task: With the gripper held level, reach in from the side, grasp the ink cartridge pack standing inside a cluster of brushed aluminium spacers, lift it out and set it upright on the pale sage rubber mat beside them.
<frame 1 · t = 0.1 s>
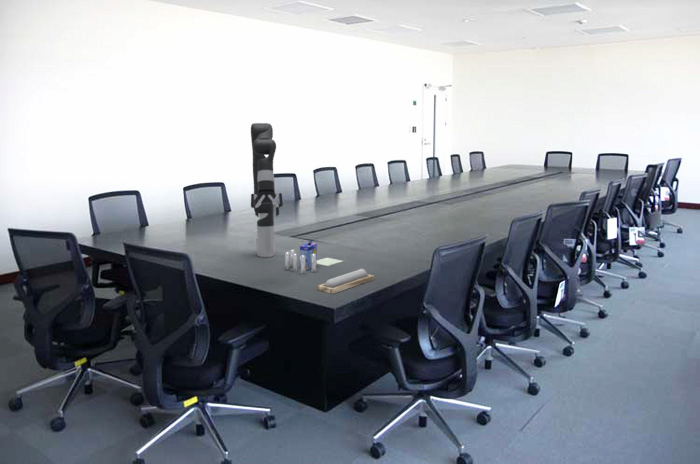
hand: (267, 216, 248), 31 cm above the table, tool tilted 20°, fingers open, 8 cm apart
ink cartridge box: (308, 268, 282), on the table
tube rest: (346, 284, 251), on the table
sage mat: (327, 262, 292), on the table
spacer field: (308, 267, 282), on the table
tube: (345, 285, 252), resting in tube rest
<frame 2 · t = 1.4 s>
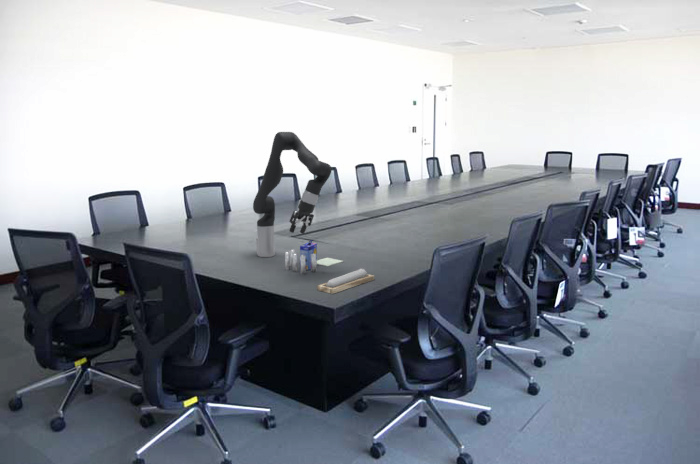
hand: (296, 232, 265), 21 cm above the table, tool tilted 20°, fingers open, 8 cm apart
nothing on the table moved.
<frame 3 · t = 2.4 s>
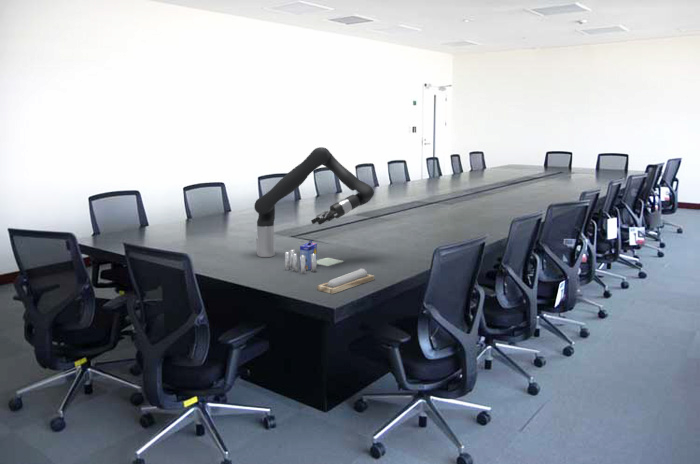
hand: (315, 222, 279), 23 cm above the table, tool tilted 65°, fingers open, 8 cm apart
nothing on the table moved.
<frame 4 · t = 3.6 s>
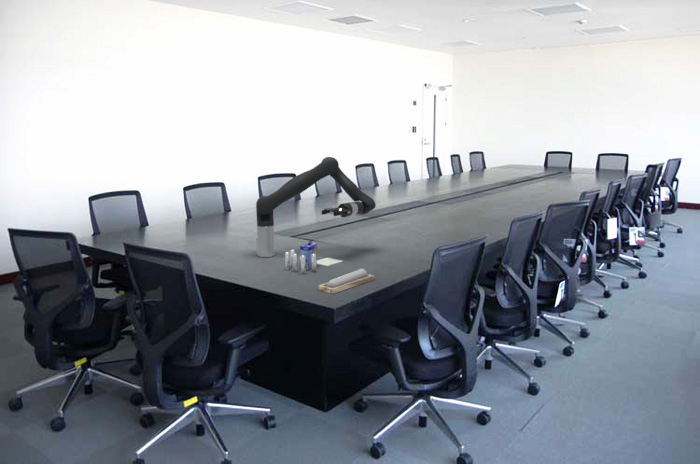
hand: (327, 213, 288), 26 cm above the table, tool horizontal, fingers open, 8 cm apart
nothing on the table moved.
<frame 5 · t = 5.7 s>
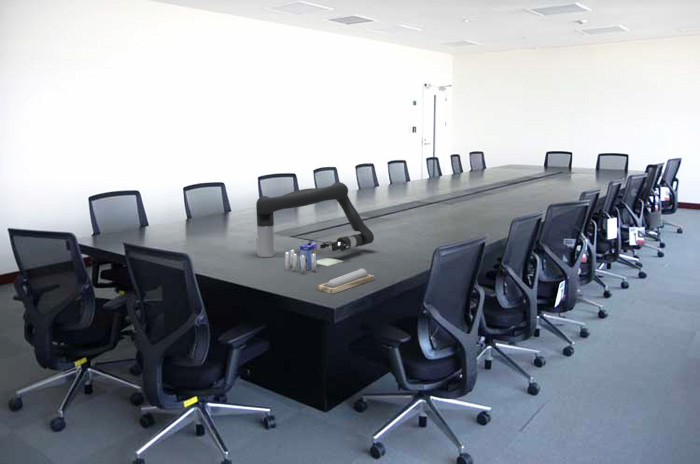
hand: (326, 247, 291), 8 cm above the table, tool horizontal, fingers open, 8 cm apart
nothing on the table moved.
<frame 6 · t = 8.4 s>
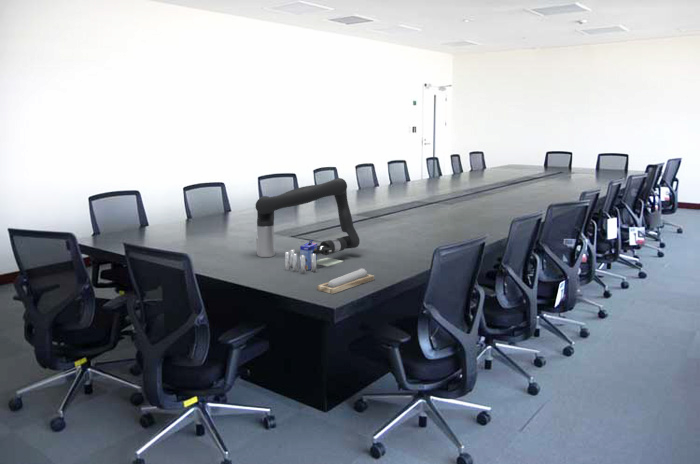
hand: (308, 252, 281), 8 cm above the table, tool horizontal, fingers closed on ink cartridge box, 6 cm apart
ink cartridge box: (308, 268, 282), on the table, touching gripper
everything else where it was.
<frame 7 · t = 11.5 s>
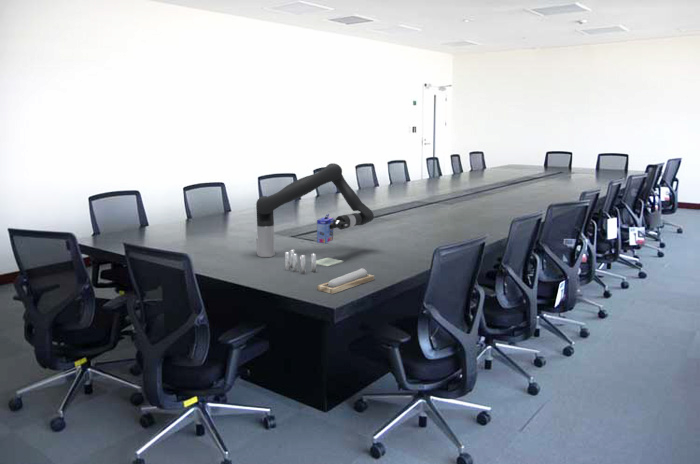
hand: (325, 226, 287), 20 cm above the table, tool horizontal, fingers closed on ink cartridge box, 6 cm apart
ink cartridge box: (325, 241, 288), point 12 cm above the table, touching gripper
everything else where it was.
when the fingers open (10 cm above the table, at t = 14.2 s): ink cartridge box drops 1 cm, resting on sage mat.
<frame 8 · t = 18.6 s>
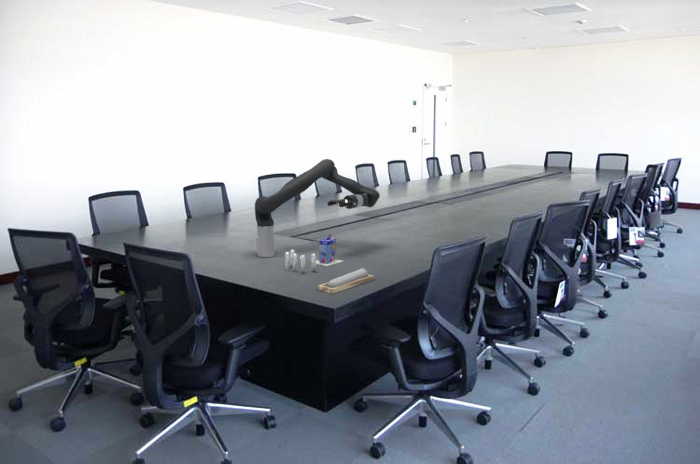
hand: (333, 204, 294), 30 cm above the table, tool horizontal, fingers open, 8 cm apart
ink cartridge box: (327, 262, 292), resting on sage mat
everything else where it was.
at the end: ink cartridge box inside the target area on the sage mat (0.4 cm from its centre), point 0.3 cm above the sage mat's base; ink cartridge box tilted 0°; the gripper is holding nothing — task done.
